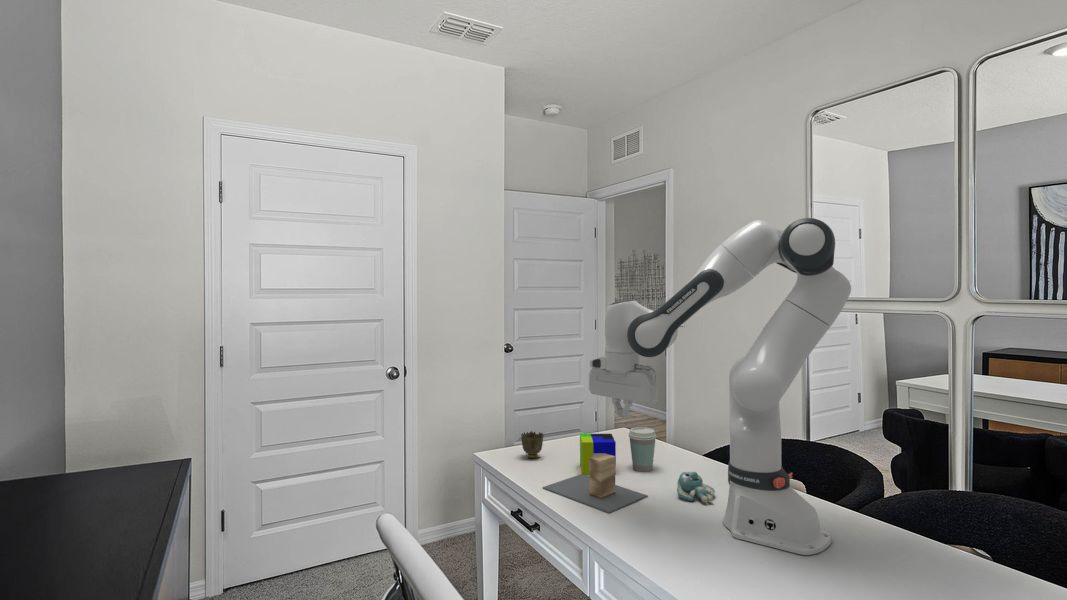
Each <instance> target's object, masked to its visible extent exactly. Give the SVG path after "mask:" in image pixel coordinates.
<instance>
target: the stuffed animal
mask: <svg viewBox="0 0 1067 600" xmlns="http://www.w3.org/2000/svg"><path fill="white" fill-rule="evenodd" d="M676 492H677V495H678V497H680V498H681V499H682V500H685V501H687V502H688V501H691V502H693V501H694V499H695V496H696V497H697V499H700V501H701V502H703V503H704V504H705V503H707V502H709V503H711V502H713V501H714V495H715V493H716V491H715V488H714V487H712V486H710V485H708V484H704V483H703V478H702V476H701V475H700V474H698V473H697V472H696V471H692V470H691V471H687V472H686V471H684V472H681V473H680V474H679V477H678V479H677V488H676Z"/></svg>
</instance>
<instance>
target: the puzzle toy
mask: <svg viewBox="0 0 1067 600" xmlns="http://www.w3.org/2000/svg"><path fill="white" fill-rule="evenodd" d="M616 447H617V444H616V440H615V438H614V436H613V434H612V433H580V434H579V464H580V471H581V474H583V475H586V476H589V458H590V457H593V456H596V455H600V454H603V453H605V454H608V455H612V456H615V476H617V465H616V464H617V463H616V462H617V461H616V459H617V456H616V455H617V454H616V453H617V452H616V451H617V450H616Z"/></svg>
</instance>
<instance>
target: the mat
mask: <svg viewBox="0 0 1067 600" xmlns="http://www.w3.org/2000/svg"><path fill="white" fill-rule="evenodd" d="M542 489H543V490H546V491H548V492H552V493H553V494H556V495H559V496H562V497H564V498H567V499H569V500H572V501H575V502H577V503H580V504H582V505H586V506H588V507H591V508H593V509H596V510H598V511H601V512H604V513H606V514H608V515H609V514H612V513H615V512H617V511H618V510H621V509H623V508H626V507H628V506H630V505H633V504H635V503H637V502H639V501H642V500H644V499H646V498H649V495H648V494H645V493H643V492H638V491H635V490H633V489H629V488H626V487H623V486H621V485H617V484H615V494H612V495H610V496H607V497H605V498H602V499H599V498H597V497H594V496H591V495H589V475H583V474H582V473H581V474H577V475H574V476H572V477H568V478H565V479H563V480H560V481H556V482H554V483H551V484H547V485H545V486H542Z"/></svg>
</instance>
